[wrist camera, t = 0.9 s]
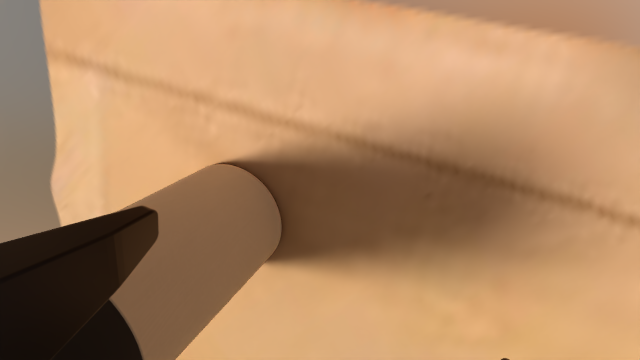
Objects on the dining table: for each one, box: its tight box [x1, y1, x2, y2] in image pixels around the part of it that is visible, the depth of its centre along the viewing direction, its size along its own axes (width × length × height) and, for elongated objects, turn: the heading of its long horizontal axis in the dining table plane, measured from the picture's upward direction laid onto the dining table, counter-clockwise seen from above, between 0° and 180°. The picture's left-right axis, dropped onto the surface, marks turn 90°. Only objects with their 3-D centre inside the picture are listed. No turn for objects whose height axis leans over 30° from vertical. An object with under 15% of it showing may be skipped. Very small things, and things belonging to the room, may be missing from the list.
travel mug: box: [51, 164, 282, 360], centre depth 21 cm, size 8×8×18 cm
